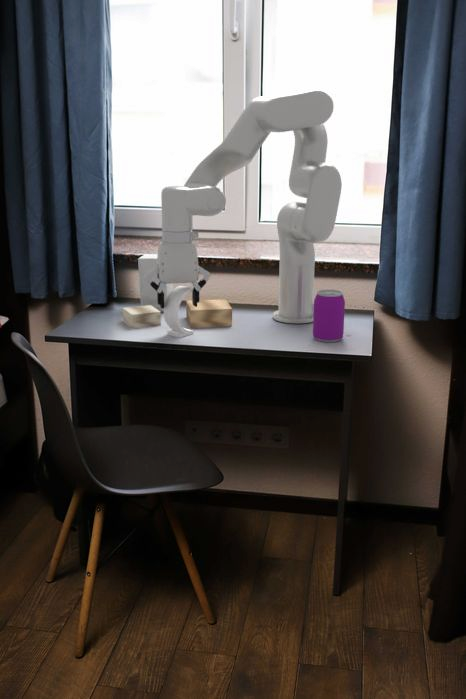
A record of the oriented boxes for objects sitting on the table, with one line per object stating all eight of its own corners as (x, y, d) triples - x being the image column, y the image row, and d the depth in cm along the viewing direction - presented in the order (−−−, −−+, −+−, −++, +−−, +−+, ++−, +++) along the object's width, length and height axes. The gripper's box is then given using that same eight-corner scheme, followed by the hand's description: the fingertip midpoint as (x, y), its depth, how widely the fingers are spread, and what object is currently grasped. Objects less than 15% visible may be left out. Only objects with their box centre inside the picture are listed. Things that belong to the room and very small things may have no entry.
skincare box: (174, 307, 232) (173, 254, 227) (167, 313, 226) (166, 258, 221) (146, 305, 234) (145, 253, 229) (139, 311, 228) (137, 257, 223)
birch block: (151, 319, 221) (150, 305, 219) (160, 326, 214) (160, 311, 212) (123, 322, 217) (122, 307, 216) (131, 329, 211) (131, 314, 209)
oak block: (225, 316, 224) (225, 299, 222) (232, 327, 213) (232, 308, 212) (186, 318, 222) (186, 300, 220) (191, 328, 212) (190, 310, 210)
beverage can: (341, 334, 205) (343, 289, 202) (344, 343, 198) (347, 296, 194) (311, 334, 206) (313, 288, 202) (313, 343, 198) (315, 295, 195)
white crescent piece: (193, 333, 206) (193, 288, 202) (176, 338, 202) (175, 291, 198) (181, 330, 209) (181, 285, 205) (164, 334, 205) (163, 289, 201)
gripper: (208, 233, 203) (209, 301, 208) (140, 236, 199) (142, 304, 205) (215, 238, 196) (215, 308, 201) (144, 240, 192) (146, 311, 198)
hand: (178, 306), depth 203 cm, fingers open, 7 cm apart
